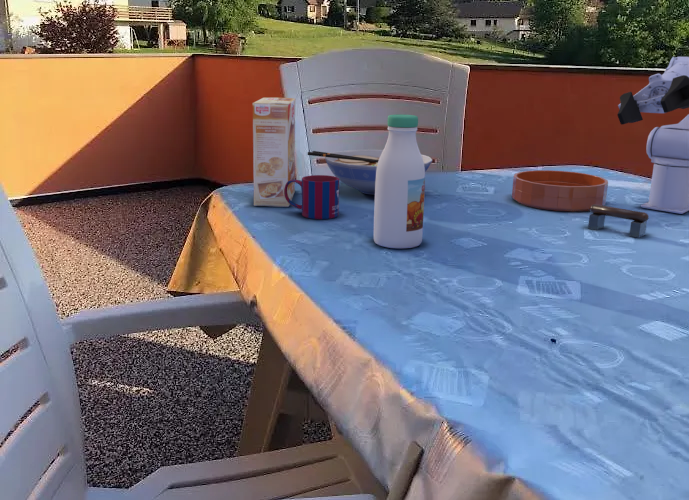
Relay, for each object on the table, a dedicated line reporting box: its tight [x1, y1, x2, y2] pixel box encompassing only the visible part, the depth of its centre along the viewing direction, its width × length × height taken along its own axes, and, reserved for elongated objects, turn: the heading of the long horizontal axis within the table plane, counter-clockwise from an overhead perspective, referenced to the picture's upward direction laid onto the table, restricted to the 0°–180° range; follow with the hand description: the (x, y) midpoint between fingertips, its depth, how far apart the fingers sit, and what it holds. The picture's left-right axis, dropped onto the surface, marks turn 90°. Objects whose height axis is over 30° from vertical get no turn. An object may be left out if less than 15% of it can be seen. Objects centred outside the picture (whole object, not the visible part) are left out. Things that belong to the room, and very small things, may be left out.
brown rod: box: [589, 204, 650, 222], centre depth 121 cm, size 10×2×2 cm, turn 48°
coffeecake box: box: [252, 97, 296, 208], centre depth 139 cm, size 15×7×20 cm, turn 179°
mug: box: [284, 174, 340, 220], centre depth 129 cm, size 7×10×7 cm
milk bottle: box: [373, 114, 426, 249], centre depth 110 cm, size 8×8×20 cm
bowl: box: [511, 169, 609, 212], centre depth 144 cm, size 18×18×5 cm
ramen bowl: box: [307, 149, 433, 196], centre depth 150 cm, size 25×23×8 cm
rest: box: [587, 213, 648, 239], centre depth 122 cm, size 9×3×2 cm, turn 48°
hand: (642, 113), depth 120 cm, fingers open, 7 cm apart
